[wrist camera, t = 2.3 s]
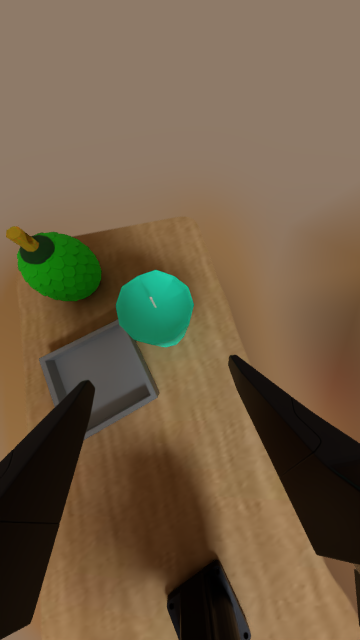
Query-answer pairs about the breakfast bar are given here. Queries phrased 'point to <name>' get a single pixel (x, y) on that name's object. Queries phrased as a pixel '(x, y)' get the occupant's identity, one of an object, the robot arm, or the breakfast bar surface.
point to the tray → (102, 374)
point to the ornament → (56, 264)
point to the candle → (155, 308)
